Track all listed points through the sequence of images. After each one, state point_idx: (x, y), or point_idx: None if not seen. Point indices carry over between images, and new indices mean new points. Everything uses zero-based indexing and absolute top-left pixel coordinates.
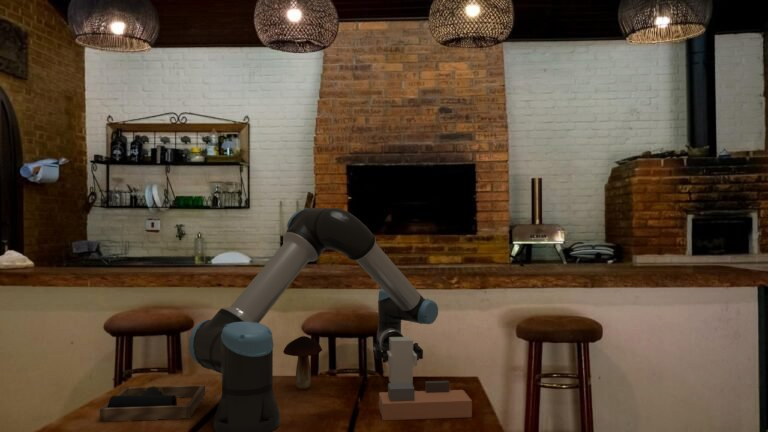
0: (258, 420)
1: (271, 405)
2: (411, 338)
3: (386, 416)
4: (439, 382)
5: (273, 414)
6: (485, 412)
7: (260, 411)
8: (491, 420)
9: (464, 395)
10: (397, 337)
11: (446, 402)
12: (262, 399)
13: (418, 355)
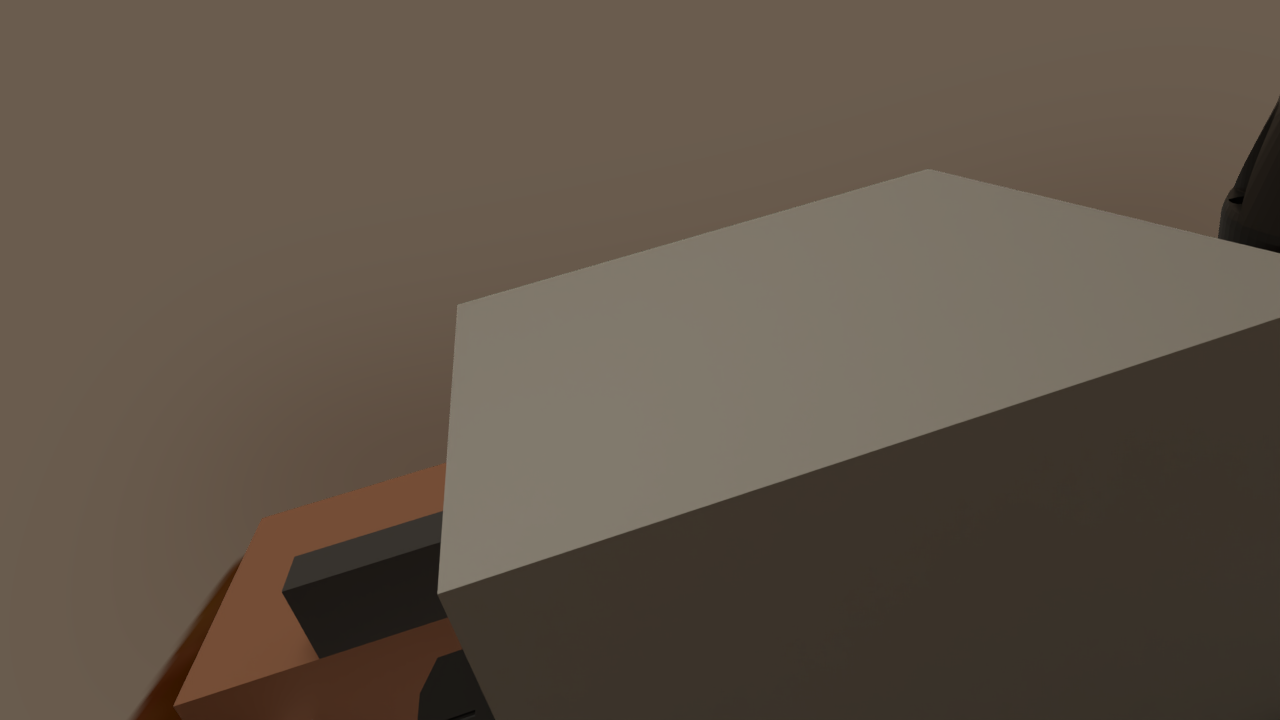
0: (1238, 177)
1: (1268, 157)
2: (450, 412)
3: None
4: (382, 531)
5: (1245, 198)
6: (169, 689)
7: (1252, 149)
8: (223, 585)
9: (250, 585)
10: (994, 351)
11: (425, 473)
12: (1276, 105)
13: (440, 660)
